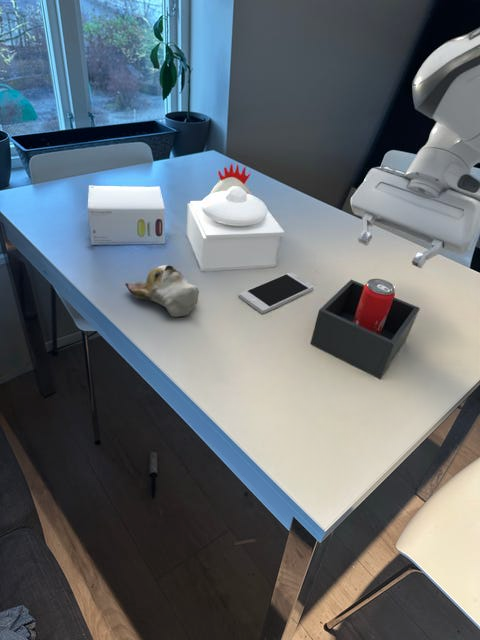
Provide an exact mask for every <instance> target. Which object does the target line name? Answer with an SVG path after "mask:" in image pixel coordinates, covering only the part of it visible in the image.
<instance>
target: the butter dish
mask: <svg viewBox="0 0 480 640" xmlns="http://www.w3.org/2000/svg"><path fill="white" fill-rule="evenodd" d="M186 206H187V210H186V236H187V239H188V241H189V244H190V246H191V248H192V251H193V254H194V256H195V259H196V262H197V264H198V266H199V269H200V271H201V272H216V271H233V270H234V271H235V270H251V269H265V268H267V269H269V268H276V267H277V264H278V257H279V252H280V246H281V241H282V236H285V231H284V230H283V228H282V226H281V225H280V224H279V223H278V222H277V220H276V219H275V217H274V216H273V215H272V213H271V212H270V211H269V210H268V207H267V205H266V204H265V202H264V201H263V200H261V199H260V198H259V197H256V196H255V195H253V194H252V195H250V194H247V193H246V192H245V191H244V190H243V189H242V188H241V187H231V188H230V189H229V190H227V191H221V192H216V193H213V194H210V193H209V194H208V195H206V197H204V198H203V199H202V200H190V201H189V202H188V203H187V205H186Z"/></svg>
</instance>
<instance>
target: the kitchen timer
mask: <svg viewBox="0 0 480 640" xmlns="http://www.w3.org/2000/svg"><path fill="white" fill-rule="evenodd" d="M246 168H247V167H246V166H244V167H243V169H242V171H241V173H240V167H239V164H237V165H236V167H235V171H234V165H233V163H231V164H230V165H229V170H228V169H227V167H226V166H224V167H223V172H224V175H223V174H222V172H221V171H220V170H218V171H217V173H218V177H219V181H217V183H216V184H215V185H214V187H213V188H212V190H211V192H209V195H210V194H213V193H216V192H221V191H227V190H229V189H230V188H231V187H241V188H242V189H243V190H244V191H245V192H246V193H247V194H250V195H253V194H252V190H251V189H250V187H249V185H247V183H246V182H247V181H248V179H249V178H250V176H251V174H252V173H251V172H249V173H248V174H246V170H247V169H246Z"/></svg>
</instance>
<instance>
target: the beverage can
mask: <svg viewBox="0 0 480 640" xmlns="http://www.w3.org/2000/svg"><path fill="white" fill-rule="evenodd" d="M364 285H365V286H364V289H363V292H362V295H361V299H360V302H359V305H358V308H357V311H356V314H355V317H354V320H353V323H355V324H357V325H359V326H361V327H364V328H366V329H368V330H370V331H372V332H375V333H377V334H379V335H380V333H381V331H382V328H383V325H384V323H385V320H386V317H387V315H388V312H389V309H390V307H391V304H392V301H393V299H394V297H395V296H396V292H395V291H396V287H395V285H393V284H392V283H391V282H389V281H388V280H386V279H382V278H371V279H368V281H367V282H366V283H365V284H364Z"/></svg>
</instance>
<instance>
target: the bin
mask: <svg viewBox="0 0 480 640" xmlns="http://www.w3.org/2000/svg"><path fill="white" fill-rule="evenodd" d="M365 285H366V284H363V283H362V282H359V281H356V280H354V279H350V280H349V281H347V283H345V284H344V285H343V287H342V288H340V289H339V290H338V291H337V292H336V293H335V294H334V295H333V296H332V297H330V299H329V300H328V301H327V302H326V303H325V304H323V305H322V306H321V307H320V309H318V313H317V316H316V321H315V324H314V328H313V330H312V331H313V332H312V335H311V339H310V345H311V346H313V347H315V348H317V349H319V350H321V351H323V352H325V353H327V354H329V355H330V356H333V357H335V358H337V359H339V360H340V361H343V362H345V363H347V364H348V365H350V366H353V367H355V368H357V369H359V370H361V371H363V372H364V373H367V374H369V375H371V376H373V377H375V378H377V379H378V380H381V378H382V377H383V375H384V374H385V373H386V371H387V370H388V369H389V367H390V365H391V364H392V362H393V361H394V359H395V358H396V357H397V355H398V353H399V352H400V350H401V349H402V347H403V346H404V344H405V343H406V342H407V339H408V337H409V335H410V332H411V330H412V328H413V326H414V323H415V320H416V318H417V316H418V313H419V311H420V309H421V307H419V306H416V305H414V304H411V303H409V302H407V301H405V300H402V299H400V298H397V297H395V296H394V299H393V301H392V304H391V307H390V309H389V312H388V315H387V317H386V320H385V323H384V325H383V328H382V331H381V333H380V335H379V334H377V333H375V332H372V331H370V330H368V329H366V328H364V327H361V326H359V325H357V324H355V323H353V320H354V317H355V314H356V311H357V308H358V305H359V302H360V299H361V295H362V292H363V289H364V286H365Z"/></svg>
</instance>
